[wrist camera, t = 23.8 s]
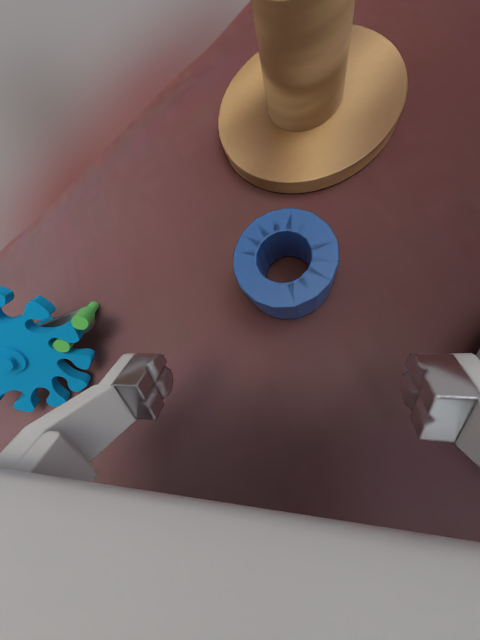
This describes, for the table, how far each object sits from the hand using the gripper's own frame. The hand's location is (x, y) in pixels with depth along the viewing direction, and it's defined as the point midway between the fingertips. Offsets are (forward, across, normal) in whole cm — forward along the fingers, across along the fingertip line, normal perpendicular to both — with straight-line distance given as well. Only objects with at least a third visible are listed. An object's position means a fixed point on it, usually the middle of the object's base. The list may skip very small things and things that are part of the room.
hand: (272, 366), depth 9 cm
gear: (+6, +18, +5) cm, 20 cm away
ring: (+10, 0, +1) cm, 10 cm away
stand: (+19, -2, -8) cm, 20 cm away
